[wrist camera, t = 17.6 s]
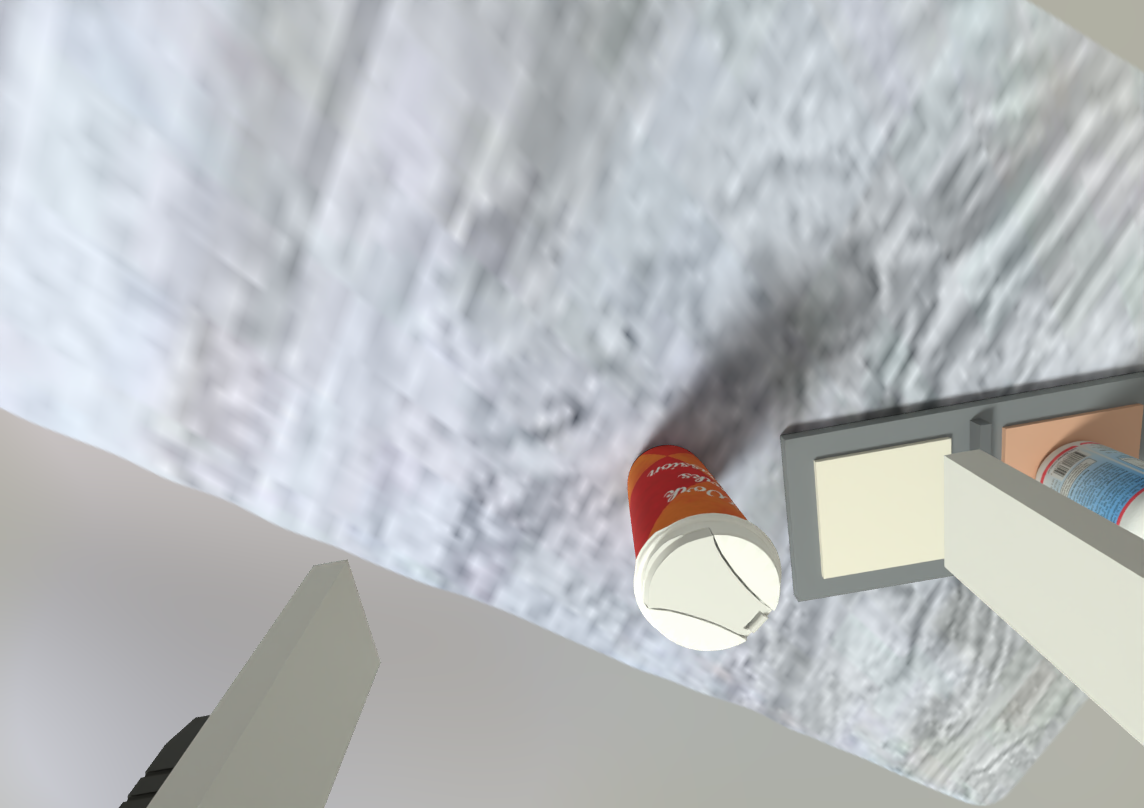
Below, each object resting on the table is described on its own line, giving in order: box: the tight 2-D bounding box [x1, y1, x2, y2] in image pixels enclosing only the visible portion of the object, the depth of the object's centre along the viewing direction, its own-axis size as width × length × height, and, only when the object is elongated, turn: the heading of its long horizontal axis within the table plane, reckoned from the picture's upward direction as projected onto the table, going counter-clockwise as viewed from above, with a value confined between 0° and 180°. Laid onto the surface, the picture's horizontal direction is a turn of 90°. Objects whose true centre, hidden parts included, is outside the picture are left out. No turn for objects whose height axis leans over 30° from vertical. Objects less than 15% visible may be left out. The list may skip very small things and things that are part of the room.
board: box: [780, 371, 1144, 602], centre depth 47 cm, size 14×28×2 cm, turn 100°
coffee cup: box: [628, 445, 781, 651], centre depth 41 cm, size 8×8×15 cm
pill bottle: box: [1035, 441, 1144, 539], centre depth 42 cm, size 6×6×11 cm
